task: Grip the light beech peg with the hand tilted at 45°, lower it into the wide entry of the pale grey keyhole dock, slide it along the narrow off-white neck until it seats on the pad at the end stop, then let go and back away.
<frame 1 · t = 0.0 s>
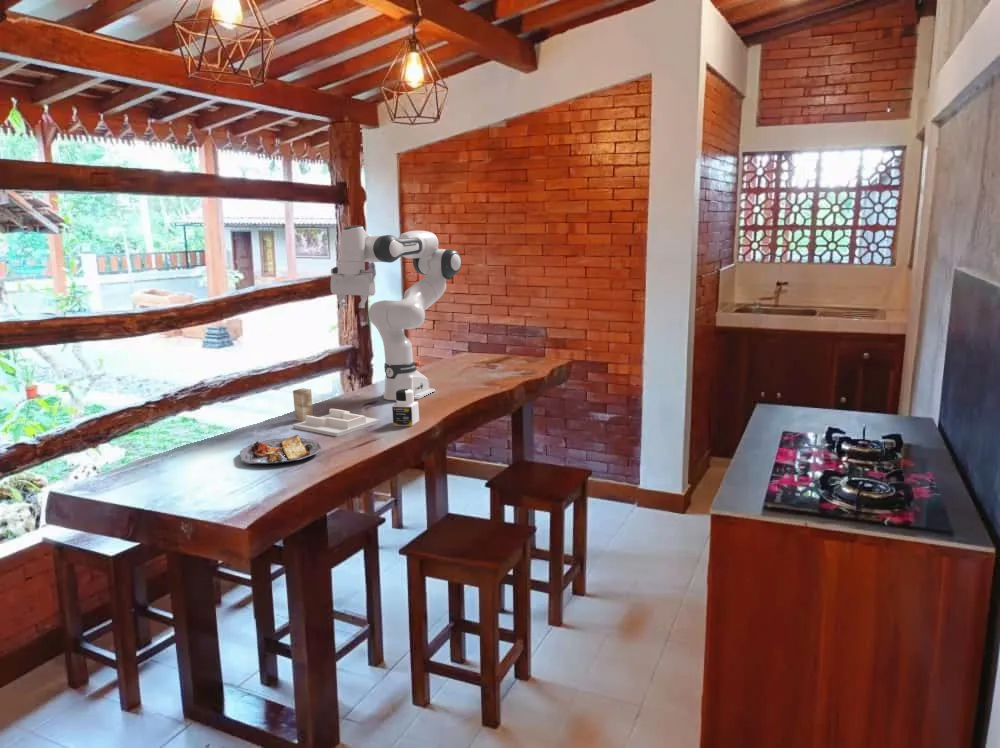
hand: (352, 307, 273), 39 cm above the table, tool pointing down, fingers open, 8 cm apart
keyhole dock: (336, 425, 258), on the table
food plate: (280, 456, 225), on the table
medicine bottle: (406, 423, 258), on the table
beech peg: (304, 419, 268), on the table
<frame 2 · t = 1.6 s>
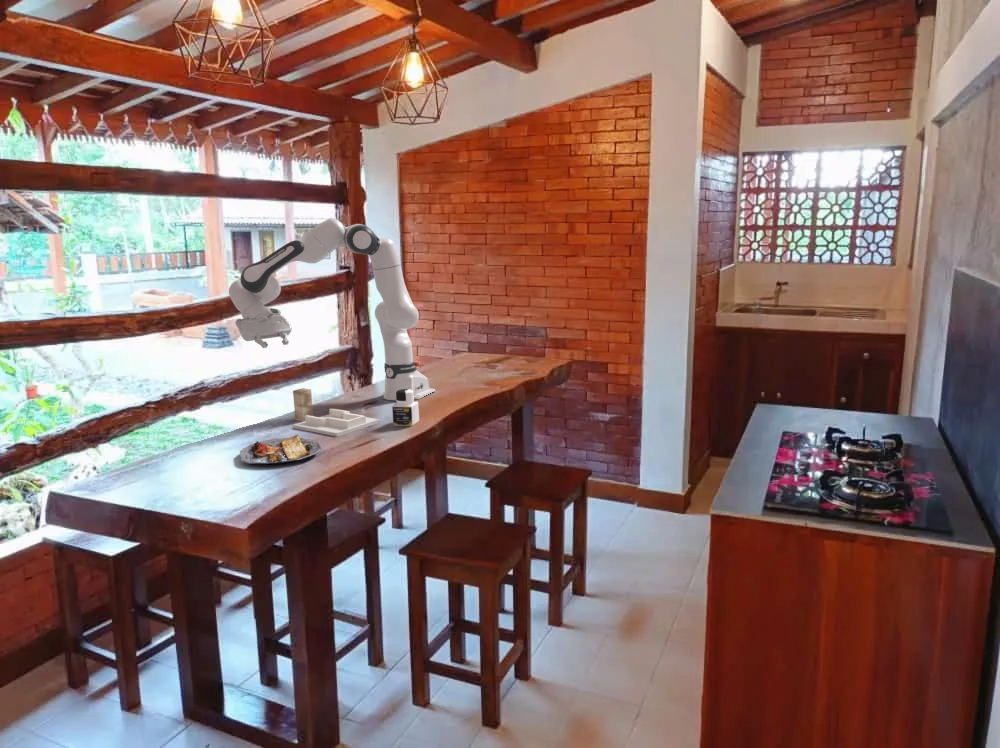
hand: (276, 345, 269), 27 cm above the table, tool tilted 45°, fingers open, 8 cm apart
nothing on the table moved.
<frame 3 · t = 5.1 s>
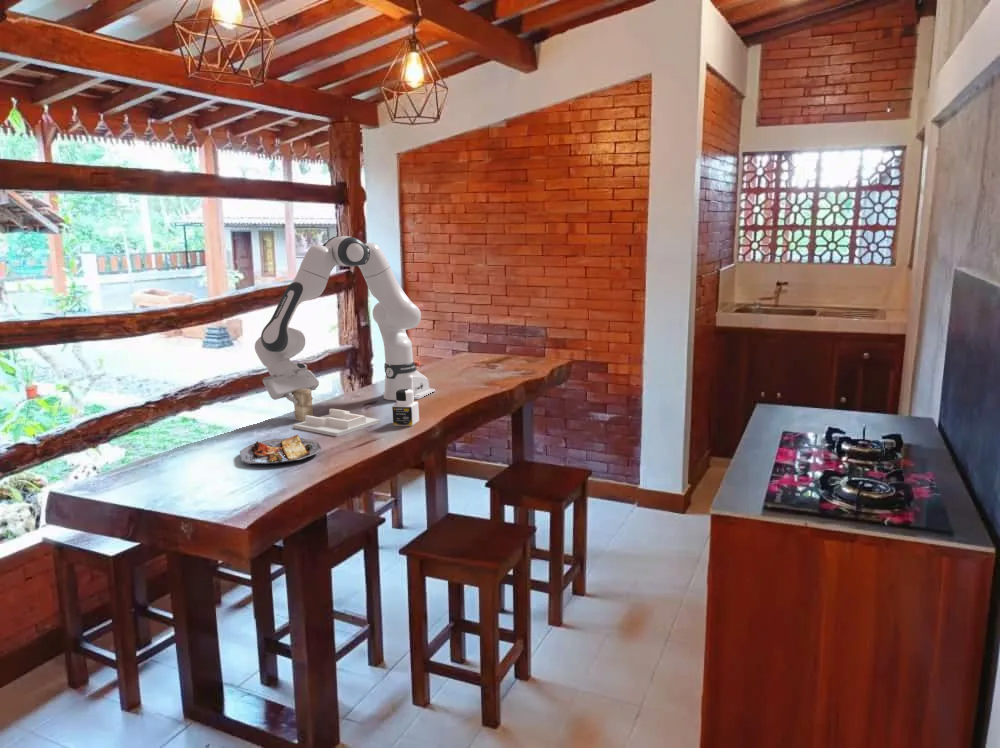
hand: (304, 402, 266), 7 cm above the table, tool tilted 45°, fingers closed on beech peg, 4 cm apart
beech peg: (304, 419, 268), on the table, touching gripper
everything else where it was.
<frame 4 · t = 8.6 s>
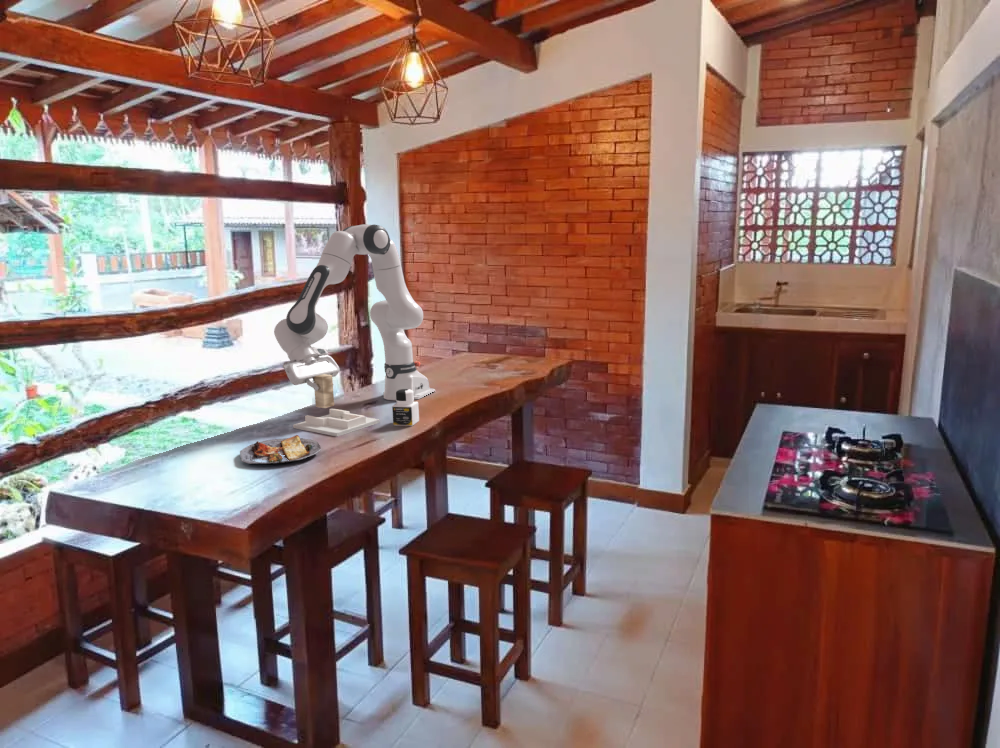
hand: (325, 388, 258), 13 cm above the table, tool tilted 45°, fingers closed on beech peg, 4 cm apart
beech peg: (325, 406, 259), point 6 cm above the table, touching gripper
everything else where it was.
when the fingers open (9 cm above the table, at t = 12.4 s): beech peg stays where it is, resting on keyhole dock.
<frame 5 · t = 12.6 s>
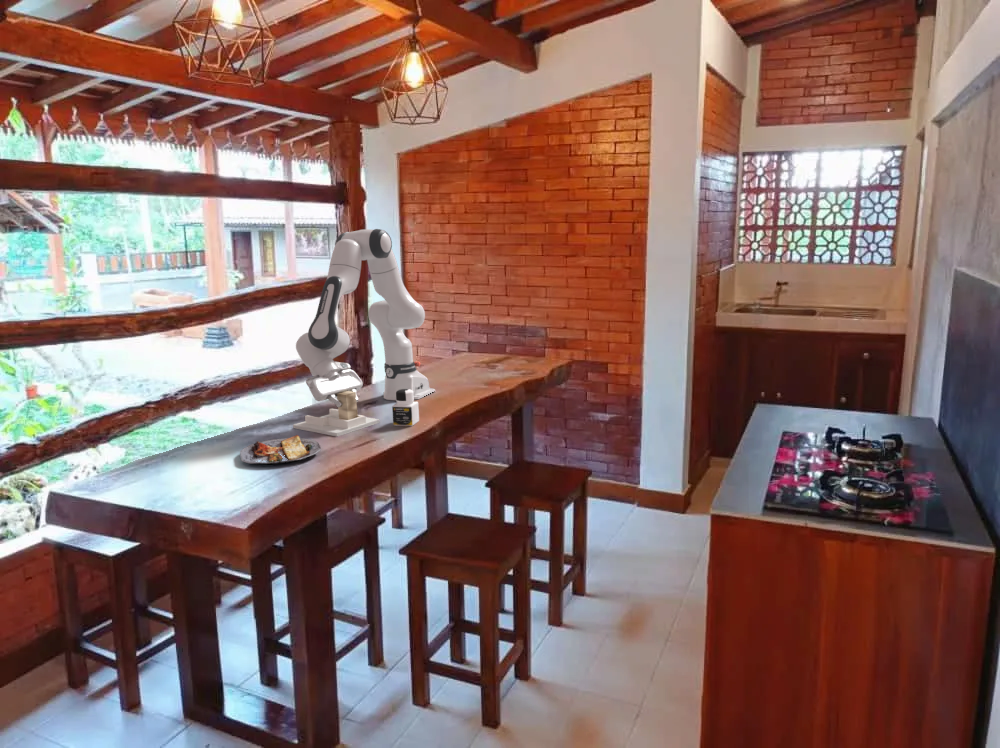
hand: (348, 403, 252), 9 cm above the table, tool tilted 45°, fingers open, 6 cm apart
beech peg: (349, 423, 254), point 1 cm above the table, touching keyhole dock
everything else where it was.
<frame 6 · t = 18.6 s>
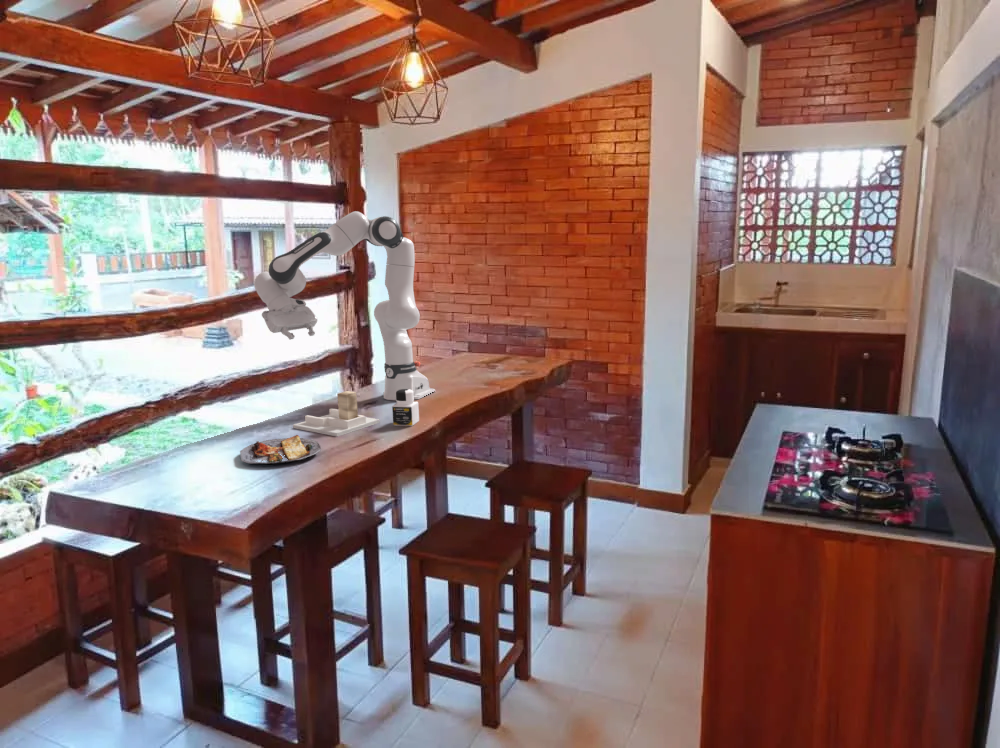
hand: (302, 336, 269), 29 cm above the table, tool tilted 45°, fingers open, 8 cm apart
nothing on the table moved.
at the end: beech peg 0.3 cm from the target spot on the keyhole dock, point 1.3 cm above the keyhole dock's base; beech peg tilted 0°; the gripper is holding nothing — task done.
